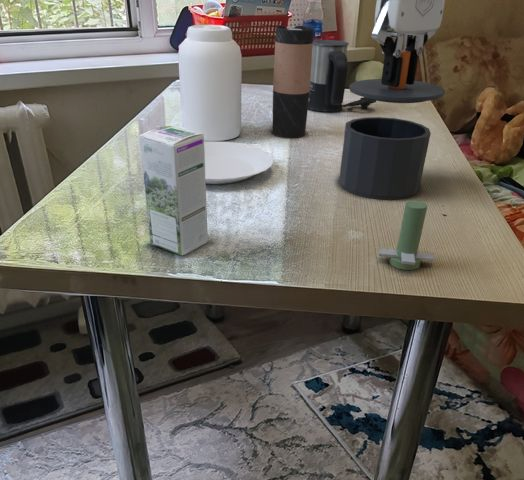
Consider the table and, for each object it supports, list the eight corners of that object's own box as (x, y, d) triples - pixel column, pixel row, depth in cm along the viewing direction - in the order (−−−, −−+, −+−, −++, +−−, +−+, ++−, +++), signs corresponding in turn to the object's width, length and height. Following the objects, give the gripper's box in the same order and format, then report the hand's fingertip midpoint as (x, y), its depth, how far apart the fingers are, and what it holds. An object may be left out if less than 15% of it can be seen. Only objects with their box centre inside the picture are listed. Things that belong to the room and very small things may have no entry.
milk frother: (298, 106, 140) (302, 39, 131) (345, 100, 147) (352, 37, 138) (333, 119, 130) (340, 48, 122) (382, 111, 138) (392, 45, 129)
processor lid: (438, 88, 91) (446, 46, 87) (448, 108, 79) (458, 60, 76) (350, 84, 93) (354, 43, 89) (347, 103, 81) (352, 56, 77)
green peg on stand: (429, 253, 74) (442, 196, 69) (434, 278, 68) (449, 218, 63) (377, 248, 74) (386, 191, 70) (377, 272, 69) (388, 212, 64)
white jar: (252, 136, 116) (255, 28, 104) (204, 146, 110) (200, 31, 98) (218, 123, 124) (216, 21, 112) (171, 131, 117) (164, 23, 105)
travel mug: (295, 140, 115) (302, 31, 103) (264, 134, 118) (268, 27, 106) (312, 132, 120) (321, 27, 108) (282, 126, 123) (287, 24, 111)
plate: (198, 146, 109) (198, 135, 108) (292, 166, 101) (293, 153, 100) (131, 176, 94) (129, 163, 93) (235, 201, 87) (235, 187, 85)
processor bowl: (415, 175, 99) (426, 120, 94) (421, 202, 89) (433, 142, 83) (340, 169, 101) (347, 114, 95) (337, 195, 90) (344, 135, 84)
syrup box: (209, 242, 74) (206, 131, 66) (181, 257, 71) (173, 142, 62) (178, 231, 77) (170, 123, 68) (148, 245, 73) (137, 133, 64)
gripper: (398, -67, 68) (378, 94, 79) (479, -63, 76) (450, 83, 86) (356, -66, 73) (342, 85, 84) (436, -62, 81) (413, 75, 91)
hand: (397, 83), depth 85 cm, fingers closed on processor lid, 2 cm apart
